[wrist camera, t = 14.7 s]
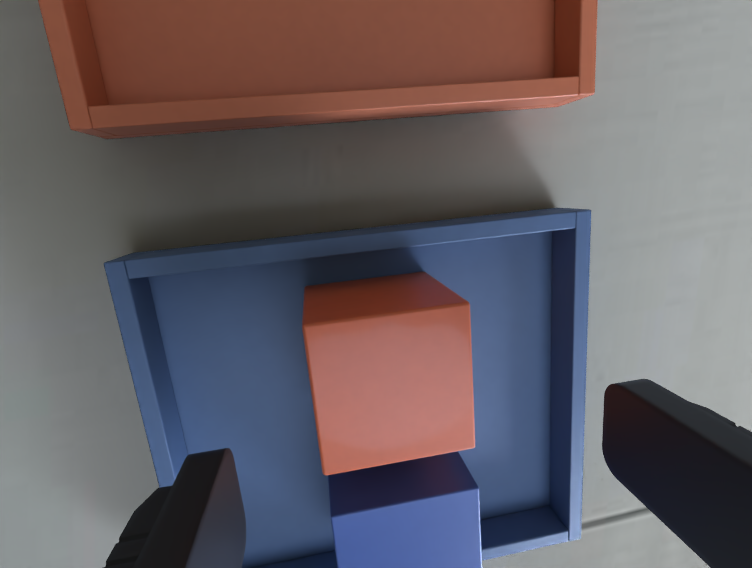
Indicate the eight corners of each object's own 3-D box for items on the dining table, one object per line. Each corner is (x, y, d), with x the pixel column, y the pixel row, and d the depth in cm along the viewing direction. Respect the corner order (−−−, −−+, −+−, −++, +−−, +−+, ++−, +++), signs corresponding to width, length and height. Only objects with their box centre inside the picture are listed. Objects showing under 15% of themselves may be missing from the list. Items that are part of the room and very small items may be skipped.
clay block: (319, 398, 16) (322, 477, 12) (303, 285, 15) (301, 324, 11) (432, 380, 17) (476, 449, 12) (425, 270, 16) (470, 301, 11)
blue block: (337, 524, 17) (347, 638, 13) (324, 429, 16) (330, 517, 12) (441, 503, 18) (484, 605, 14) (435, 410, 17) (479, 487, 13)
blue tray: (206, 576, 18) (193, 625, 16) (131, 252, 14) (102, 262, 12) (553, 503, 20) (581, 539, 18) (557, 207, 17) (592, 209, 14)
